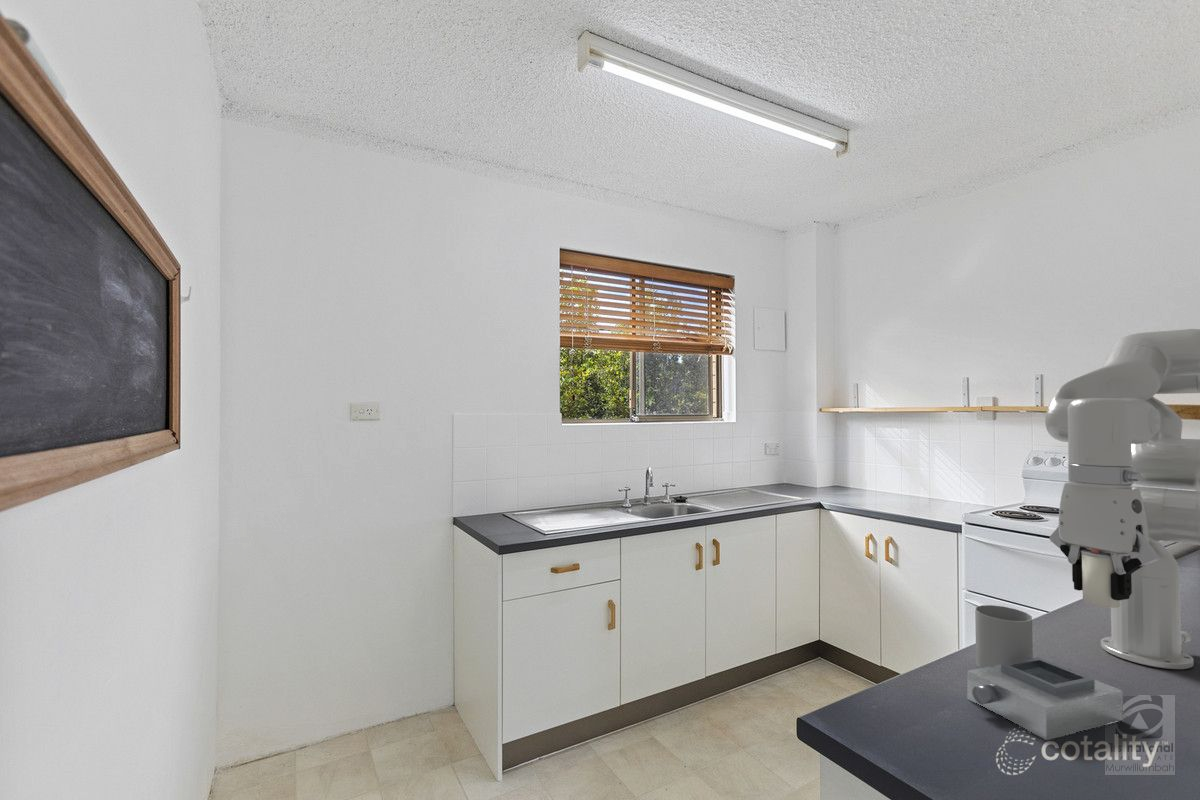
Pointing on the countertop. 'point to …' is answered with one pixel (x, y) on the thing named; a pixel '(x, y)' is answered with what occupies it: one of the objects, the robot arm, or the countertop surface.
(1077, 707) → the grey holder block
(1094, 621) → the countertop surface
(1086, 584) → the cream white cylinder
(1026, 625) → the cup
